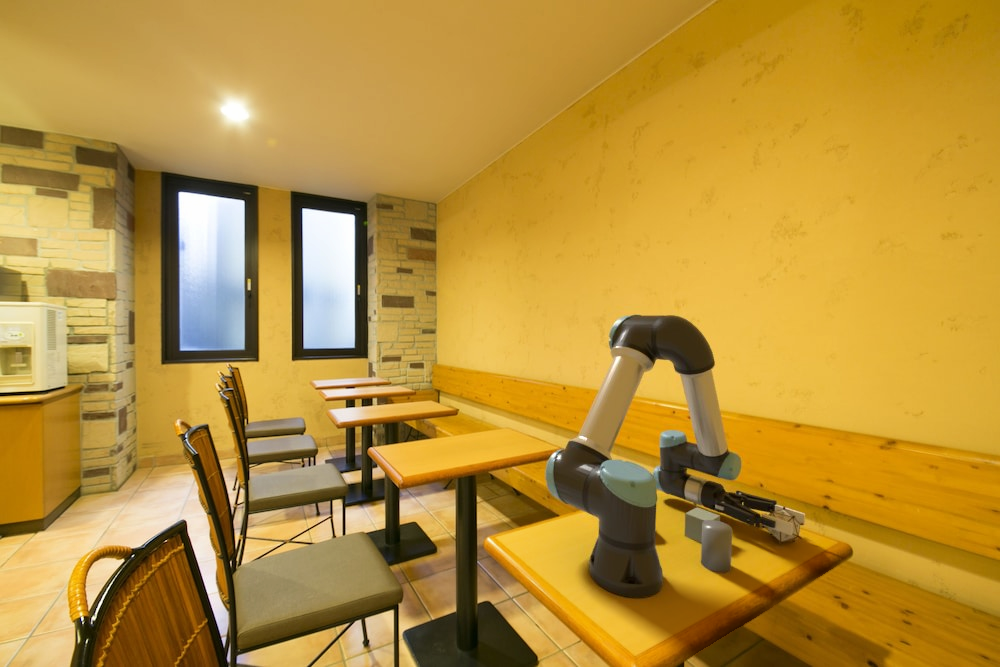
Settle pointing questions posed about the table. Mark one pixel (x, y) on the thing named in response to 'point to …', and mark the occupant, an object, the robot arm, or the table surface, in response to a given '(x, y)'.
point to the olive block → (697, 522)
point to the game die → (787, 517)
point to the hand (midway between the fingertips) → (798, 524)
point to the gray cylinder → (716, 546)
